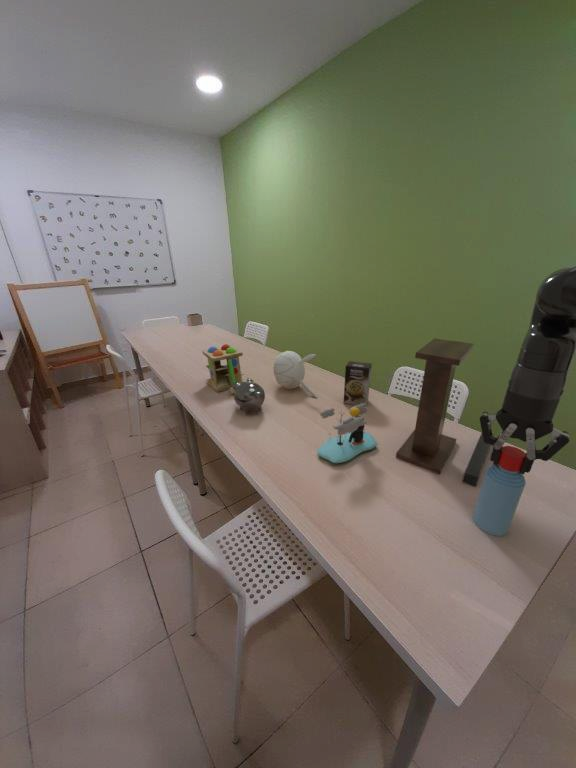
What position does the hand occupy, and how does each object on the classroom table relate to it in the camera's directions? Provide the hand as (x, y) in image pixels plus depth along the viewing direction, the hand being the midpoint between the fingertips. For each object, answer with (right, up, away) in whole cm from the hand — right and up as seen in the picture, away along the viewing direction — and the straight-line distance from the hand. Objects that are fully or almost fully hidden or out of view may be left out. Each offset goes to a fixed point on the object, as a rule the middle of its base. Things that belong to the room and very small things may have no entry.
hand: (508, 466), depth 60 cm
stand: (-2, -3, +31) cm, 31 cm away
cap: (0, 0, 0) cm, 0 cm away
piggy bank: (-59, +6, +58) cm, 83 cm away
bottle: (+1, -14, +6) cm, 15 cm away
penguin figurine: (-26, -4, +32) cm, 41 cm away
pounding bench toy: (-71, +15, +79) cm, 107 cm away
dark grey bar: (+10, -5, +25) cm, 28 cm away
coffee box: (-17, +9, +61) cm, 64 cm away
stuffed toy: (-41, +14, +73) cm, 85 cm away
